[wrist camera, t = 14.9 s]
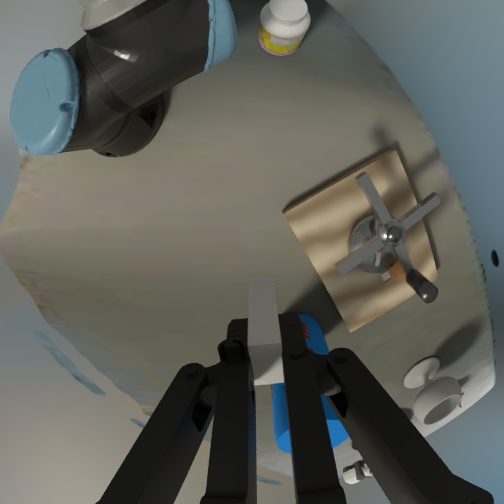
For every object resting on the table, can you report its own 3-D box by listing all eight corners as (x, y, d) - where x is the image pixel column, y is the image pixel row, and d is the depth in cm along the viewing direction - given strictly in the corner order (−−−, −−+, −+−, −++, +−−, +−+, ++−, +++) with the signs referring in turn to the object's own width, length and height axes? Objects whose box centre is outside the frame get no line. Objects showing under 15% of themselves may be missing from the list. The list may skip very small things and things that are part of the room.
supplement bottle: (262, 21, 33) (265, -17, 21) (302, 28, 33) (318, -7, 21) (255, 53, 35) (256, 20, 23) (296, 60, 36) (312, 31, 24)
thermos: (322, 309, 52) (360, 412, 29) (318, 350, 56) (345, 448, 33) (266, 313, 52) (274, 424, 29) (268, 354, 56) (275, 457, 33)
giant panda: (346, 470, 84) (350, 488, 75) (339, 469, 83) (343, 487, 74) (375, 456, 80) (380, 474, 71) (368, 454, 79) (374, 473, 70)
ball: (382, 263, 46) (391, 271, 42) (398, 253, 45) (407, 261, 42) (388, 278, 47) (396, 287, 43) (403, 268, 46) (412, 277, 43)
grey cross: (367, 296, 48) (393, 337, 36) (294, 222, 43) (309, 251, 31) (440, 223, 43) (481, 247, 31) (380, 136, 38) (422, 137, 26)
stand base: (281, 211, 45) (283, 214, 43) (390, 149, 41) (396, 149, 39) (347, 327, 54) (350, 333, 52) (433, 273, 49) (438, 278, 47)
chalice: (449, 355, 59) (473, 389, 45) (423, 389, 64) (441, 424, 50) (419, 351, 58) (444, 392, 44) (391, 389, 62) (409, 429, 48)
